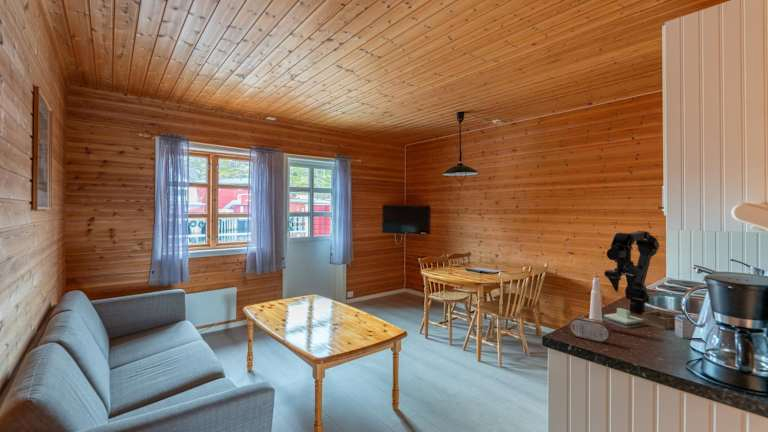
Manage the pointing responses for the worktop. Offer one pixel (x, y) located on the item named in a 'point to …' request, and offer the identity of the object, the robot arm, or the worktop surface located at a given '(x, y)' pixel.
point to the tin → (590, 329)
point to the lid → (623, 317)
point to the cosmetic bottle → (595, 301)
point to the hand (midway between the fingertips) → (623, 290)
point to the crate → (659, 319)
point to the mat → (623, 324)
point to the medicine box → (684, 326)
